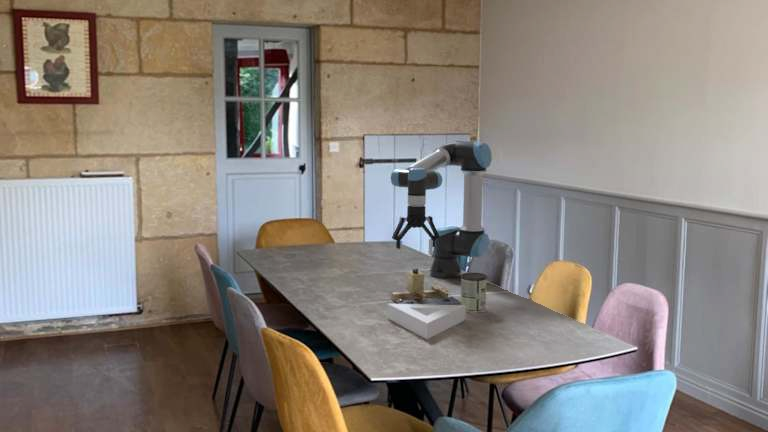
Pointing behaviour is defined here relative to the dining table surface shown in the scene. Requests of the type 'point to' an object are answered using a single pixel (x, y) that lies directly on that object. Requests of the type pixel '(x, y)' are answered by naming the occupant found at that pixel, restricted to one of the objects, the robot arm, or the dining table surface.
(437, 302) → the bolt plate
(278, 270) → the dining table surface
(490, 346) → the dining table surface
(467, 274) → the coffee can
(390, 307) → the triangle block
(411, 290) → the block
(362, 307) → the dining table surface
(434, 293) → the bar
